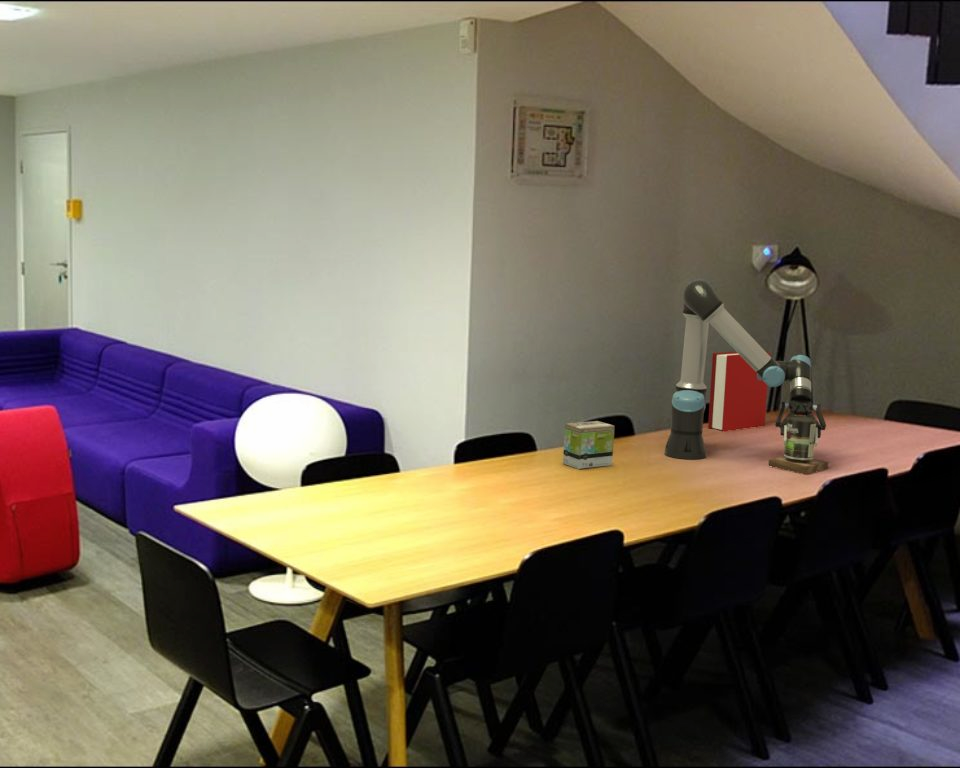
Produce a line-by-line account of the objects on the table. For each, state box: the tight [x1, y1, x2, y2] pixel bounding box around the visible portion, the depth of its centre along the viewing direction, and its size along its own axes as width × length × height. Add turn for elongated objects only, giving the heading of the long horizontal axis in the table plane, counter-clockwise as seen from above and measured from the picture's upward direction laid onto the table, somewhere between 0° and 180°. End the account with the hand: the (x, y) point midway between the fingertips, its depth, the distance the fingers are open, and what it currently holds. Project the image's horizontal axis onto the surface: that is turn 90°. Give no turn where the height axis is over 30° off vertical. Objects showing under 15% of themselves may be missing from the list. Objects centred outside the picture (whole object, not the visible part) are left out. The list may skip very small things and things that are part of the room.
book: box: [707, 350, 771, 432], centre depth 458 cm, size 27×8×32 cm, turn 124°
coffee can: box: [783, 415, 818, 460], centre depth 386 cm, size 10×10×14 cm
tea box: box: [562, 420, 615, 470], centre depth 382 cm, size 15×10×15 cm, turn 123°
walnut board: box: [767, 455, 829, 475], centre depth 388 cm, size 15×15×3 cm
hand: (800, 443), depth 384 cm, fingers closed on coffee can, 10 cm apart
